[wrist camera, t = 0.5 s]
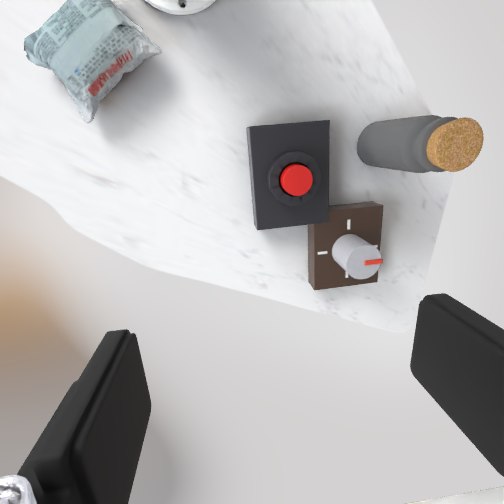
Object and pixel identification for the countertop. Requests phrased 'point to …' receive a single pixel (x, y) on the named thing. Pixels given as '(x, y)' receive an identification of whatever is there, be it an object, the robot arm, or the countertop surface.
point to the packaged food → (89, 49)
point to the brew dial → (356, 256)
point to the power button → (296, 179)
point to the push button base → (273, 164)
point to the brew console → (326, 234)
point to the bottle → (421, 144)
